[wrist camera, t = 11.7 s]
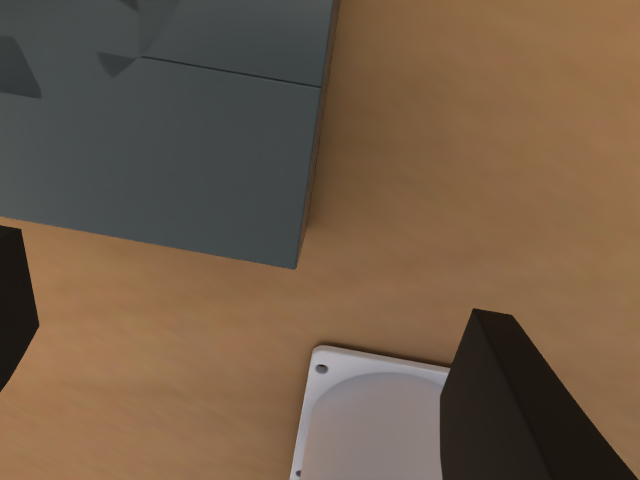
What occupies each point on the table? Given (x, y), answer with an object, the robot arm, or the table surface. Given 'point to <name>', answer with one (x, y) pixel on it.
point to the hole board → (166, 119)
